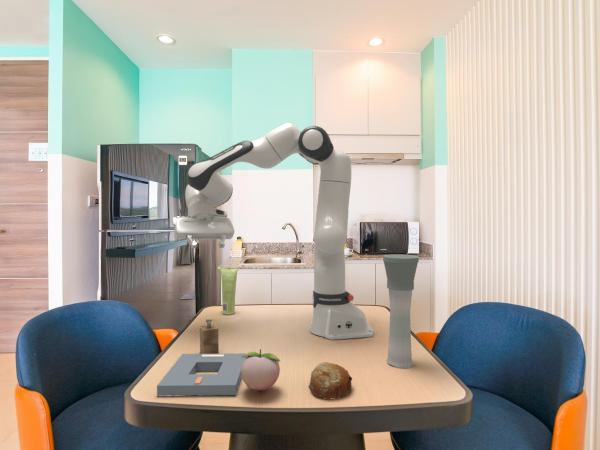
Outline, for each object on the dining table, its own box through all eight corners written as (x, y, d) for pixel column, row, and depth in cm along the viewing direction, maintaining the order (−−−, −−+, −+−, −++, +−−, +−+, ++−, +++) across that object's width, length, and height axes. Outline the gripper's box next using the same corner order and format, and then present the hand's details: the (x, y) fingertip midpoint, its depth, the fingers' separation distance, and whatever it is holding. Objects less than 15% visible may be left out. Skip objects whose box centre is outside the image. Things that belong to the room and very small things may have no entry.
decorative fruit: (237, 401, 77) (237, 357, 77) (243, 383, 85) (243, 343, 85) (279, 401, 77) (279, 357, 77) (281, 383, 85) (281, 343, 85)
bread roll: (314, 393, 88) (300, 365, 87) (350, 375, 88) (337, 347, 88) (319, 416, 78) (304, 385, 77) (360, 395, 78) (345, 364, 78)
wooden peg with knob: (214, 350, 106) (214, 316, 106) (218, 355, 102) (218, 320, 102) (200, 352, 104) (199, 318, 104) (203, 358, 100) (203, 322, 100)
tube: (232, 310, 149) (232, 265, 148) (238, 313, 145) (238, 267, 145) (220, 313, 146) (220, 267, 145) (226, 316, 142) (225, 268, 141)
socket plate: (246, 362, 97) (246, 352, 97) (235, 395, 79) (235, 383, 79) (182, 362, 97) (182, 352, 97) (157, 396, 79) (156, 384, 79)
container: (411, 355, 102) (412, 254, 101) (422, 370, 92) (423, 258, 91) (378, 355, 102) (379, 254, 101) (386, 370, 92) (387, 258, 91)
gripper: (172, 210, 117) (177, 241, 109) (230, 211, 128) (239, 240, 120) (170, 222, 121) (174, 253, 113) (226, 223, 132) (234, 251, 124)
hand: (208, 247), depth 117 cm, fingers open, 8 cm apart
